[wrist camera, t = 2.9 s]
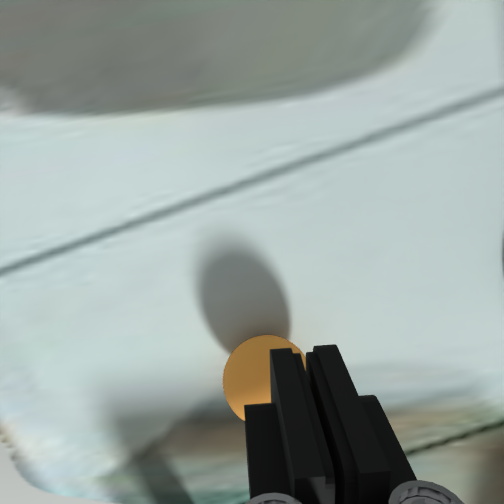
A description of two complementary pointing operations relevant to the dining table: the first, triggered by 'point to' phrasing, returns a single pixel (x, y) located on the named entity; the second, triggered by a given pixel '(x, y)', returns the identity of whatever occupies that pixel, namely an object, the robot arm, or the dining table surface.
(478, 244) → the dining table surface
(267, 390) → the ball
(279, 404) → the robot arm
